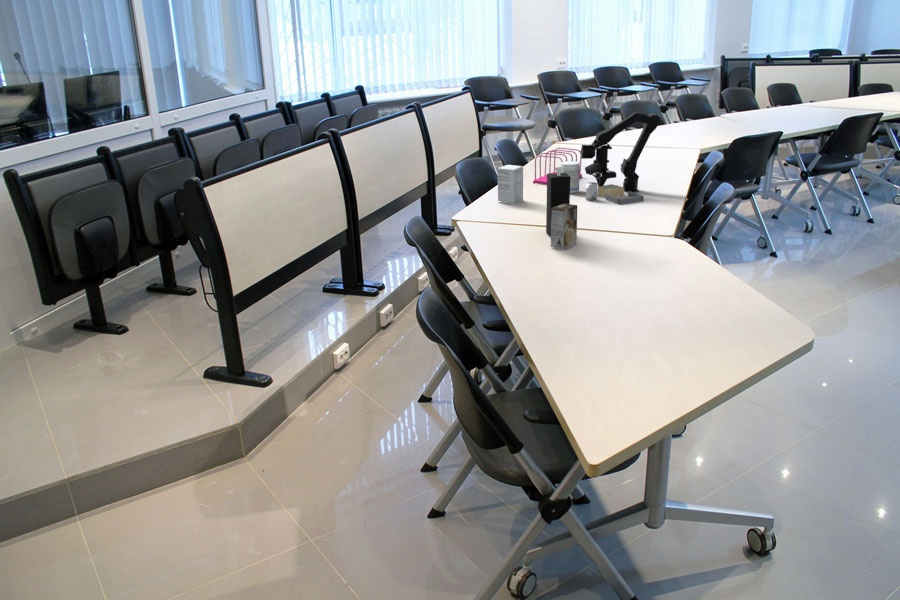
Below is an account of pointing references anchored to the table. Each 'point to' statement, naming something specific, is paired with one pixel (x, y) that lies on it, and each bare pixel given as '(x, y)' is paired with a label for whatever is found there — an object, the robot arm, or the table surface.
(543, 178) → the file sorter
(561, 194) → the tall black pillar
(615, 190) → the carton
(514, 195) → the supplement box
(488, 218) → the table surface
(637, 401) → the table surface
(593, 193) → the grey rounded block
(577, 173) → the supplement tub
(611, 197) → the gray u-shaped frame
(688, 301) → the table surface
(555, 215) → the coffee box
